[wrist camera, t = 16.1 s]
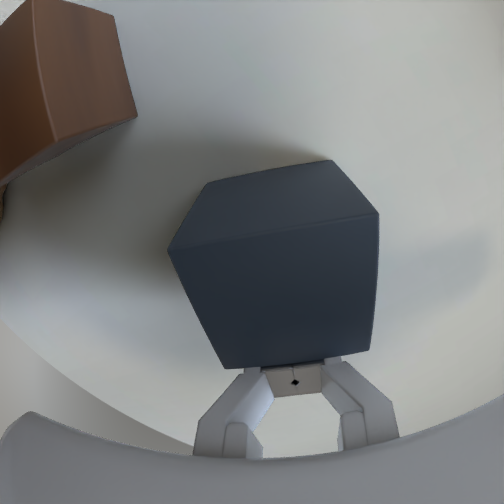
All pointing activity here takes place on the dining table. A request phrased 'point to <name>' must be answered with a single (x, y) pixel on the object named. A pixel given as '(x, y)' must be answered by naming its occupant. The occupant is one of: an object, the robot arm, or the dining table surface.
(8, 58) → the walnut cube
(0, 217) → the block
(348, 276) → the slate cube
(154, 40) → the dining table surface
